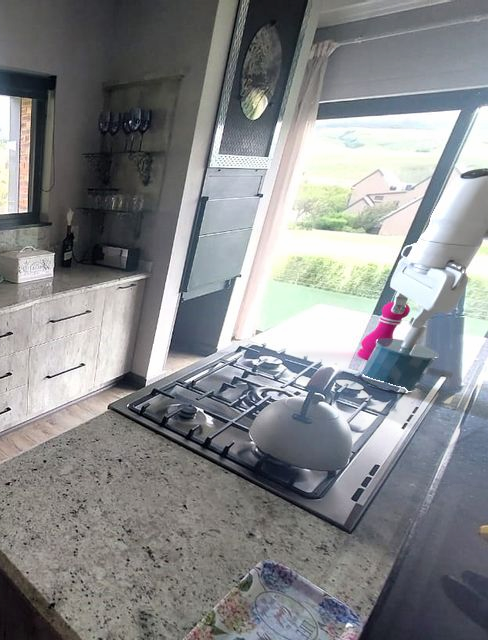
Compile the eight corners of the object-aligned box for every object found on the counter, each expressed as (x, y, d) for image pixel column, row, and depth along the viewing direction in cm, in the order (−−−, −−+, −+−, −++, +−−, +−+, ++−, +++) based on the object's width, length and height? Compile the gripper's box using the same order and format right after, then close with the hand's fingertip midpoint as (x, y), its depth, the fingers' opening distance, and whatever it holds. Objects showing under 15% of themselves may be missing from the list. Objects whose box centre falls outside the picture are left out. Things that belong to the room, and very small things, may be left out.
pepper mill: (381, 364, 125) (417, 302, 115) (352, 356, 130) (384, 296, 120) (386, 358, 129) (421, 298, 119) (358, 350, 134) (389, 292, 124)
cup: (421, 388, 112) (443, 354, 107) (400, 397, 108) (422, 362, 102) (372, 370, 121) (390, 338, 116) (351, 377, 117) (369, 344, 111)
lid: (445, 357, 107) (462, 330, 103) (423, 365, 102) (440, 337, 98) (388, 339, 117) (402, 314, 113) (365, 345, 112) (379, 319, 108)
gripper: (492, 269, 73) (447, 339, 80) (436, 249, 90) (403, 308, 97) (447, 265, 75) (407, 333, 82) (400, 246, 92) (371, 304, 99)
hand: (405, 319), depth 89 cm, fingers open, 8 cm apart
